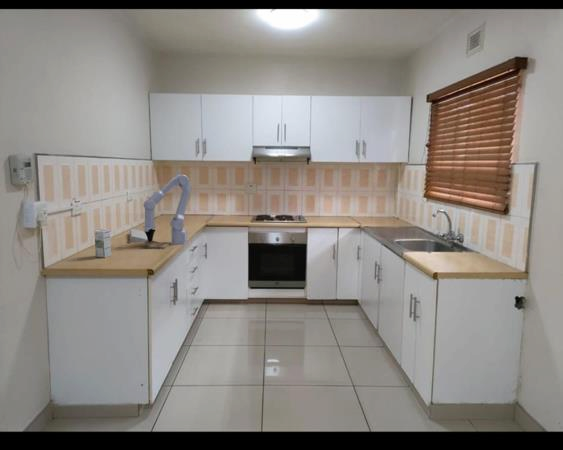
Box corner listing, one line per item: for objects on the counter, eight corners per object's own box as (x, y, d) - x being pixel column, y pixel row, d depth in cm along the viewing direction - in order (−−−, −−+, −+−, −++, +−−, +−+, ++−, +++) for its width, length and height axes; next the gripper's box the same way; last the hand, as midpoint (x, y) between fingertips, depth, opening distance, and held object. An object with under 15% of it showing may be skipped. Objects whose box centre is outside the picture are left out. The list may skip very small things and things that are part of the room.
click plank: (159, 244, 248) (159, 242, 248) (152, 248, 234) (153, 246, 234) (148, 241, 248) (148, 239, 247) (141, 245, 234) (141, 243, 234)
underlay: (171, 244, 249) (171, 244, 249) (164, 249, 233) (164, 249, 233) (148, 244, 249) (148, 243, 249) (140, 249, 233) (140, 249, 233)
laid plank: (170, 244, 248) (170, 242, 248) (164, 248, 234) (164, 246, 234) (160, 244, 248) (160, 242, 248) (153, 248, 234) (153, 246, 234)
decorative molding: (143, 237, 288) (129, 234, 284) (145, 231, 288) (131, 228, 284) (145, 246, 257) (129, 243, 253) (147, 239, 256) (131, 236, 253)
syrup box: (111, 255, 216) (110, 229, 214) (104, 258, 210) (103, 231, 208) (102, 255, 217) (101, 229, 215) (95, 257, 212) (93, 230, 210)
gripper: (146, 217, 249) (147, 239, 250) (139, 220, 234) (139, 243, 236) (158, 218, 249) (158, 239, 251) (151, 221, 234) (151, 243, 236)
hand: (150, 241), depth 243 cm, fingers closed, pressing on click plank
